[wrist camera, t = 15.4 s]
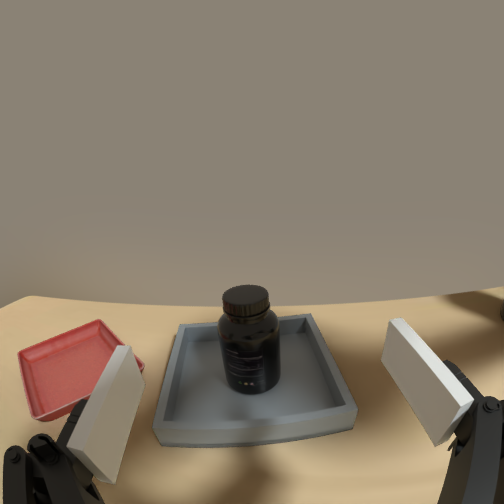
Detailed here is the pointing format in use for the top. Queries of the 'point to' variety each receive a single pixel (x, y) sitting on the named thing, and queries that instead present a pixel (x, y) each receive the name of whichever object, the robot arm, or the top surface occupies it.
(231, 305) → the supplement bottle
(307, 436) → the tray
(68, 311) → the top surface
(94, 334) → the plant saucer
